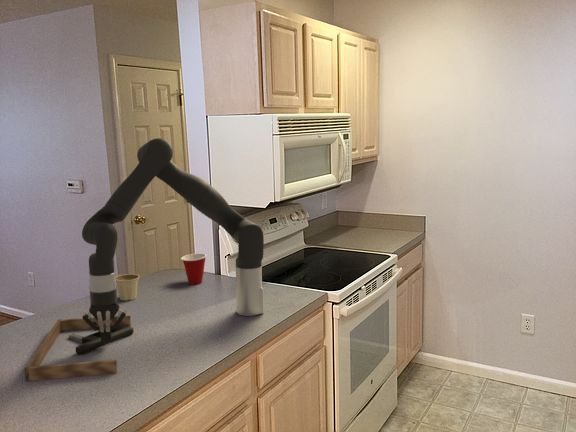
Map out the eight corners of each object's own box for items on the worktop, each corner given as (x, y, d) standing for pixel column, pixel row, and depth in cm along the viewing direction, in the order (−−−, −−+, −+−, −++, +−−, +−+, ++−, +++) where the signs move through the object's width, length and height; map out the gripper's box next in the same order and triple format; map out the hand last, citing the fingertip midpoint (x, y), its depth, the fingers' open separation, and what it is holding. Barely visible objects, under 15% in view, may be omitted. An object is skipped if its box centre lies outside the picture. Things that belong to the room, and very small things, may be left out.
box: (130, 324, 174) (130, 314, 173) (116, 373, 139) (115, 360, 138) (58, 329, 169) (58, 319, 169) (25, 381, 134) (24, 368, 134)
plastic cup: (181, 280, 225) (180, 253, 223) (206, 278, 228) (205, 252, 226) (182, 287, 215) (181, 259, 213) (208, 285, 217) (207, 257, 215)
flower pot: (118, 294, 205) (117, 274, 204) (142, 294, 206) (141, 273, 204) (113, 302, 196) (111, 280, 194) (138, 301, 197) (136, 280, 195)
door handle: (50, 339, 157) (82, 348, 148) (105, 319, 174) (137, 326, 165) (52, 349, 158) (83, 358, 149) (106, 328, 174) (138, 336, 165)
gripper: (127, 282, 157) (130, 336, 160) (82, 285, 154) (86, 339, 157) (124, 290, 150) (127, 345, 153) (76, 292, 147) (81, 349, 150)
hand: (106, 342), depth 155 cm, fingers closed
